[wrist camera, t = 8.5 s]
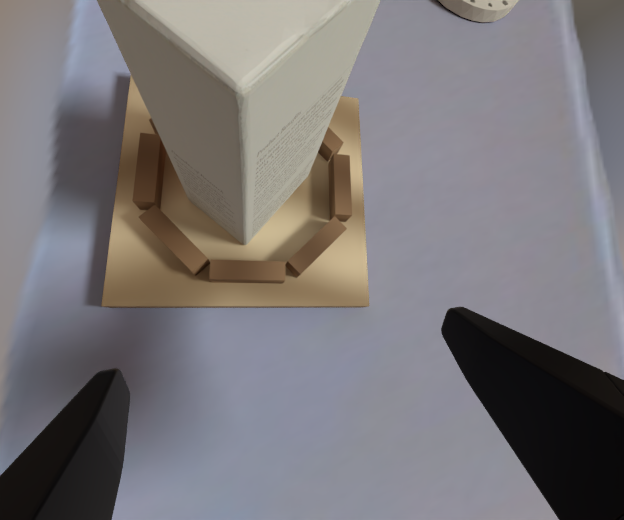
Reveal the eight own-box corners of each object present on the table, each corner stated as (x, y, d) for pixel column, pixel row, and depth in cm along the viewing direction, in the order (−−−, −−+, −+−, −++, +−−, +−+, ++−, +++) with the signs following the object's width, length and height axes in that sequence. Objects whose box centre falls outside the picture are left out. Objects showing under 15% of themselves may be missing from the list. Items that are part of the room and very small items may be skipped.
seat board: (361, 307, 19) (377, 304, 17) (111, 307, 16) (89, 304, 14) (352, 110, 22) (364, 85, 20) (138, 80, 19) (124, 47, 17)
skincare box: (254, 132, 19) (273, -165, 8) (308, 177, 19) (407, -48, 8) (183, 201, 17) (65, -53, 6) (243, 250, 17) (246, 98, 6)
